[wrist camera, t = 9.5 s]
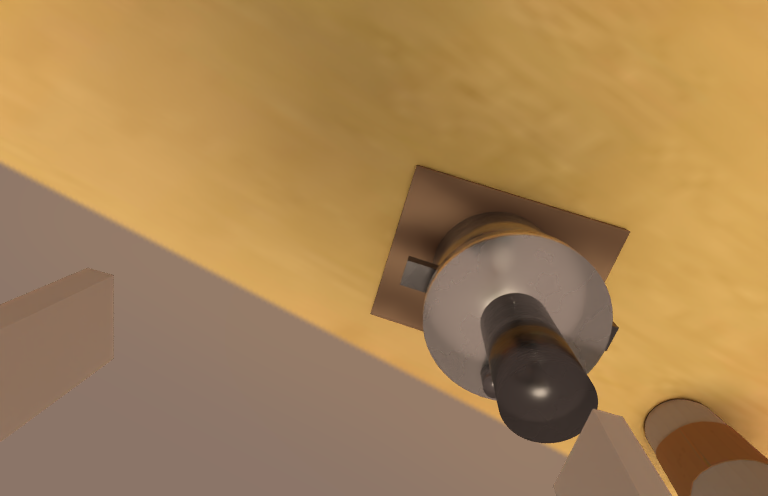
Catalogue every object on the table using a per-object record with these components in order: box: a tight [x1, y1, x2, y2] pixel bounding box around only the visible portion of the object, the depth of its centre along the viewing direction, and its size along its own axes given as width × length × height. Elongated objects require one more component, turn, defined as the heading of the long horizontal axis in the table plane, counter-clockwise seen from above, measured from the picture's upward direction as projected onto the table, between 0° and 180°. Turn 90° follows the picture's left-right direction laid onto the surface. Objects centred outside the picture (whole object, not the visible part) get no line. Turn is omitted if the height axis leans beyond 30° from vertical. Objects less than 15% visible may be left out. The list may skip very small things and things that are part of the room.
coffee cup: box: [645, 399, 768, 496], centre depth 32 cm, size 8×8×15 cm
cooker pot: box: [400, 212, 619, 351], centre depth 32 cm, size 16×12×9 cm
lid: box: [423, 230, 613, 443], centre depth 23 cm, size 12×12×10 cm
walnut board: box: [371, 165, 630, 331], centre depth 36 cm, size 15×19×1 cm
